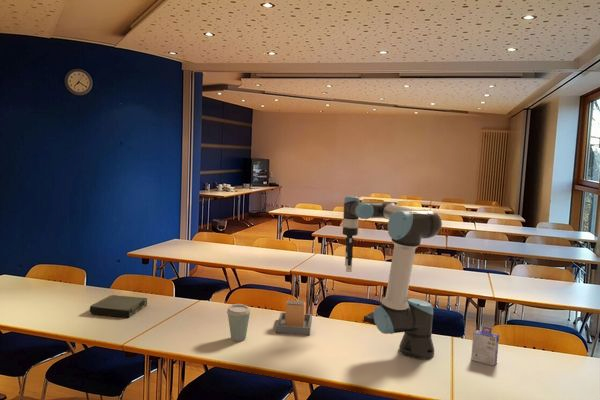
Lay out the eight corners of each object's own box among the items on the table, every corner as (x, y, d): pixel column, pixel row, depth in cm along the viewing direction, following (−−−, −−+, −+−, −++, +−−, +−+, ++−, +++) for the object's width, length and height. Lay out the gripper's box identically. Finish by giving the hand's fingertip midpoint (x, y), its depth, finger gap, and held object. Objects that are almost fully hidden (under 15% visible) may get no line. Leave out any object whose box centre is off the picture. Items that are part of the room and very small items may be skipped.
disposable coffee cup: (254, 339, 219) (255, 307, 218) (236, 345, 212) (237, 312, 210) (239, 333, 227) (240, 301, 225) (221, 338, 219) (222, 306, 217)
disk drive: (363, 321, 252) (389, 328, 244) (363, 316, 252) (389, 322, 244) (372, 316, 261) (397, 322, 253) (372, 311, 261) (398, 317, 252)
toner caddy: (303, 327, 235) (304, 305, 234) (284, 326, 236) (285, 303, 235) (304, 323, 241) (305, 301, 240) (286, 322, 242) (287, 300, 240)
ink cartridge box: (497, 361, 207) (500, 329, 206) (494, 366, 203) (497, 333, 201) (473, 356, 212) (476, 324, 211) (470, 360, 208) (473, 327, 206)
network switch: (133, 319, 239) (133, 309, 239) (86, 317, 239) (86, 307, 239) (148, 305, 262) (149, 296, 262) (105, 302, 262) (106, 293, 262)
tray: (309, 335, 228) (309, 328, 227) (275, 332, 229) (276, 325, 229) (311, 321, 248) (312, 314, 247) (280, 318, 249) (281, 312, 248)
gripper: (342, 223, 255) (340, 262, 257) (343, 230, 230) (341, 274, 232) (356, 224, 255) (354, 263, 256) (359, 231, 230) (357, 274, 232)
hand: (348, 268), depth 244 cm, fingers open, 13 cm apart
